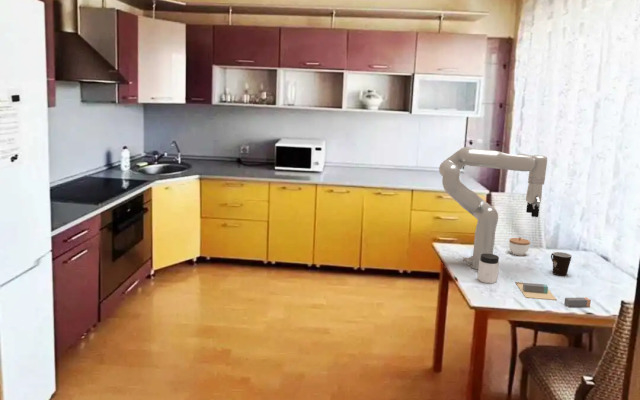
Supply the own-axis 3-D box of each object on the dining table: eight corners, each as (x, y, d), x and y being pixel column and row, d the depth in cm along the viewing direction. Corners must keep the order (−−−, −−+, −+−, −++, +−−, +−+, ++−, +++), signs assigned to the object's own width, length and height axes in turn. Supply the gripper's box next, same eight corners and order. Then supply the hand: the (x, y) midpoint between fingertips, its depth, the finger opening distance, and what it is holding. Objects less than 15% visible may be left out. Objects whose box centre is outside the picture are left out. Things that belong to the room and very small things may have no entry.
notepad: (525, 297, 248) (526, 296, 248) (515, 283, 266) (515, 282, 266) (556, 300, 247) (556, 299, 247) (544, 285, 265) (544, 284, 265)
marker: (524, 291, 255) (525, 285, 254) (522, 289, 258) (523, 282, 257) (547, 293, 254) (548, 287, 253) (545, 291, 257) (546, 284, 256)
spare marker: (568, 307, 239) (569, 300, 239) (564, 304, 242) (565, 297, 242) (589, 306, 241) (590, 300, 241) (585, 304, 244) (586, 297, 243)
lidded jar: (504, 250, 320) (506, 234, 318) (522, 251, 321) (525, 235, 320) (513, 256, 310) (515, 240, 308) (531, 257, 311) (533, 240, 309)
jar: (476, 281, 266) (479, 257, 263) (477, 276, 273) (480, 252, 271) (496, 284, 263) (499, 259, 261) (497, 279, 271) (499, 254, 268)
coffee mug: (570, 277, 279) (573, 257, 277) (552, 275, 280) (554, 256, 278) (565, 270, 290) (568, 251, 288) (547, 268, 292) (550, 249, 290)
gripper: (524, 177, 288) (520, 210, 292) (533, 182, 271) (528, 218, 275) (539, 178, 288) (535, 211, 291) (549, 184, 271) (544, 219, 274)
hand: (532, 214), depth 283 cm, fingers open, 9 cm apart
